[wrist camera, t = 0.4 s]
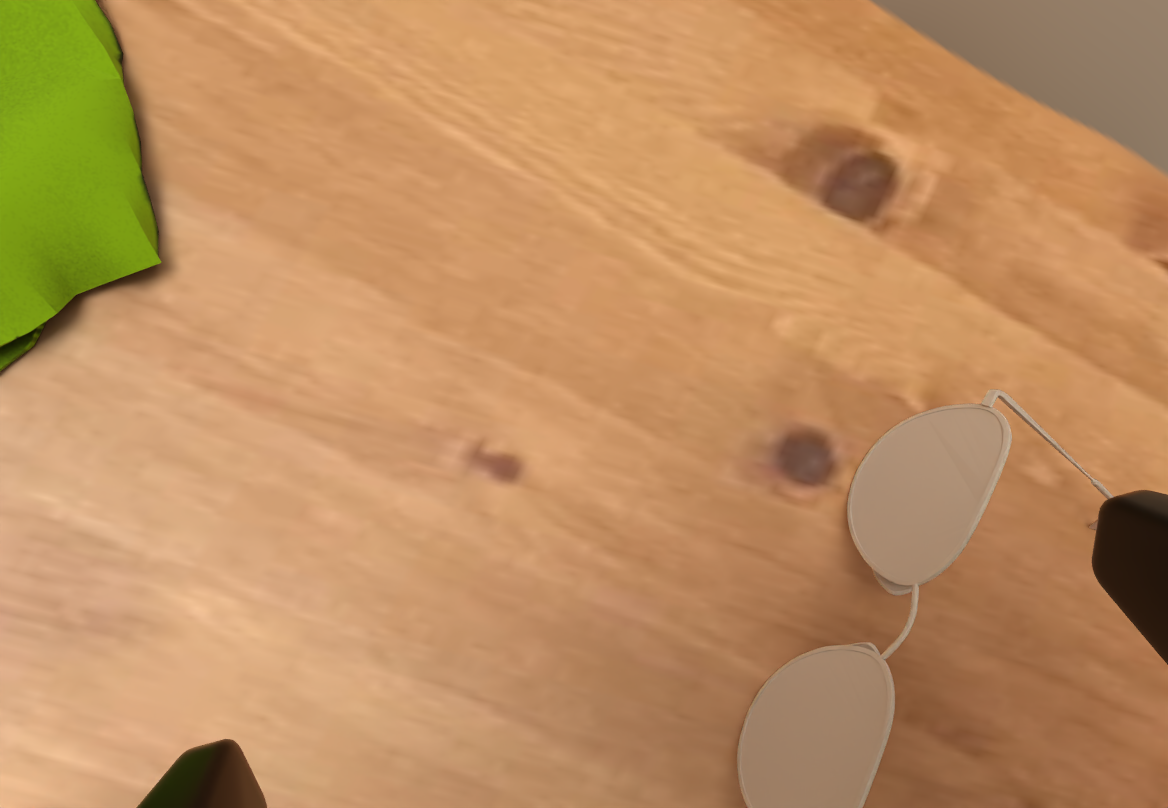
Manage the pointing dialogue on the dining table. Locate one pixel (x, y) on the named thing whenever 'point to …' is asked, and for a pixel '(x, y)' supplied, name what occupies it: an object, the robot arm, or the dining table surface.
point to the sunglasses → (900, 564)
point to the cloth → (64, 166)
